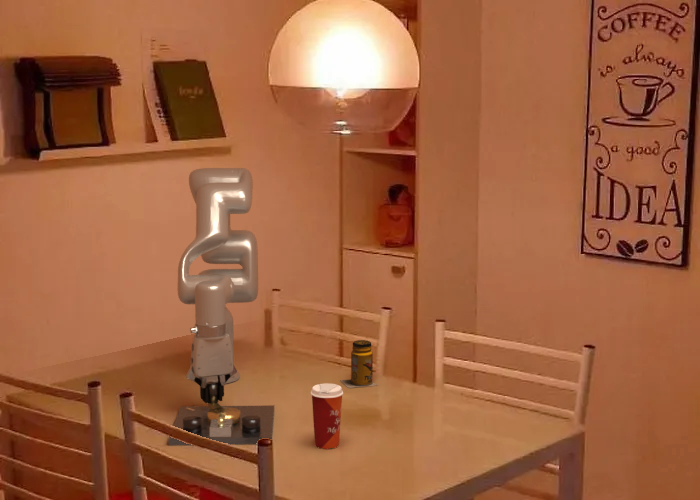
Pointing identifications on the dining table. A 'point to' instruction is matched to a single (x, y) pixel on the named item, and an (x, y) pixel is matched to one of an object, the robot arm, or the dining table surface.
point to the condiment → (361, 365)
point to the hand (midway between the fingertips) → (212, 399)
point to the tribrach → (227, 424)
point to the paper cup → (327, 414)
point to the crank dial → (216, 408)
